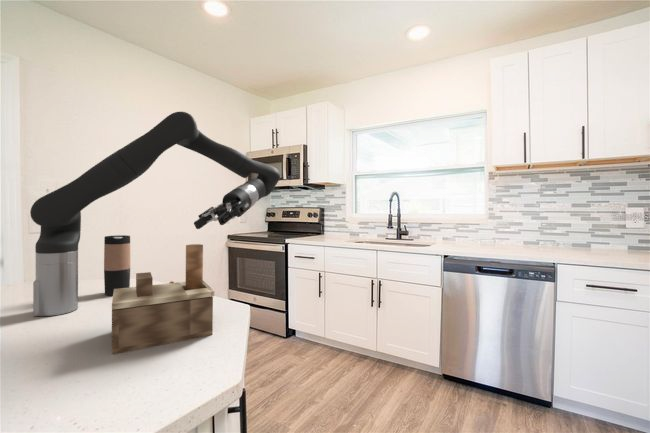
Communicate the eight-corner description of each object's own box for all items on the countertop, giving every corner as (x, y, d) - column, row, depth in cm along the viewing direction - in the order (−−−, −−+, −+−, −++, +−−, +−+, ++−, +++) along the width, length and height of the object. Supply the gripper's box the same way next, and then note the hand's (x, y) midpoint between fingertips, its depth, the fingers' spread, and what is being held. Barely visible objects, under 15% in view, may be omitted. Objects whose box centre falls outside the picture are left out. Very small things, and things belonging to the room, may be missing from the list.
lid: (111, 309, 63) (111, 284, 63) (113, 293, 75) (114, 272, 75) (214, 296, 74) (214, 274, 74) (202, 284, 86) (202, 265, 86)
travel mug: (116, 289, 112) (116, 235, 112) (135, 291, 111) (135, 235, 111) (98, 295, 105) (98, 236, 104) (118, 296, 103) (118, 237, 103)
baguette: (186, 295, 75) (187, 246, 75) (184, 291, 79) (184, 244, 79) (204, 293, 78) (204, 245, 77) (200, 289, 81) (201, 244, 81)
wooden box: (111, 354, 63) (111, 311, 63) (113, 331, 75) (113, 294, 75) (212, 334, 74) (212, 297, 74) (200, 317, 86) (200, 284, 86)
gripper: (218, 192, 96) (181, 215, 82) (255, 183, 90) (222, 207, 76) (228, 213, 99) (194, 239, 85) (264, 206, 93) (234, 233, 79)
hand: (207, 224), depth 81 cm, fingers open, 8 cm apart
